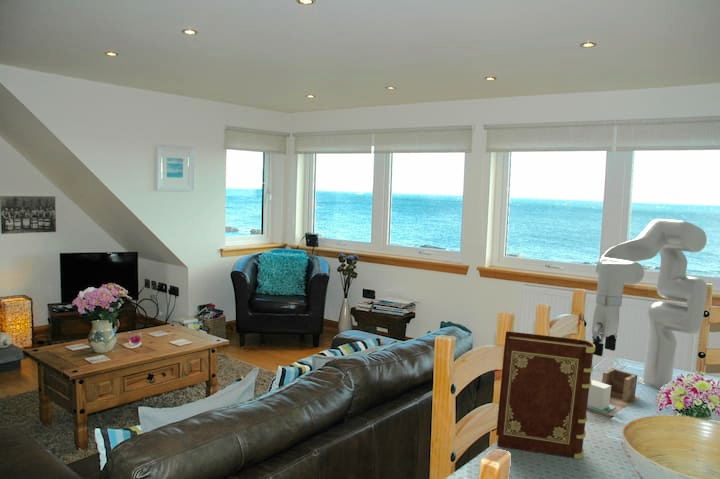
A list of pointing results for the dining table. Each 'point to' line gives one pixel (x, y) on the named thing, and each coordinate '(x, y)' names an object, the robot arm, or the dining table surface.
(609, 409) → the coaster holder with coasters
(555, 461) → the dining table surface
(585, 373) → the decorative book
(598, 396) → the carton
